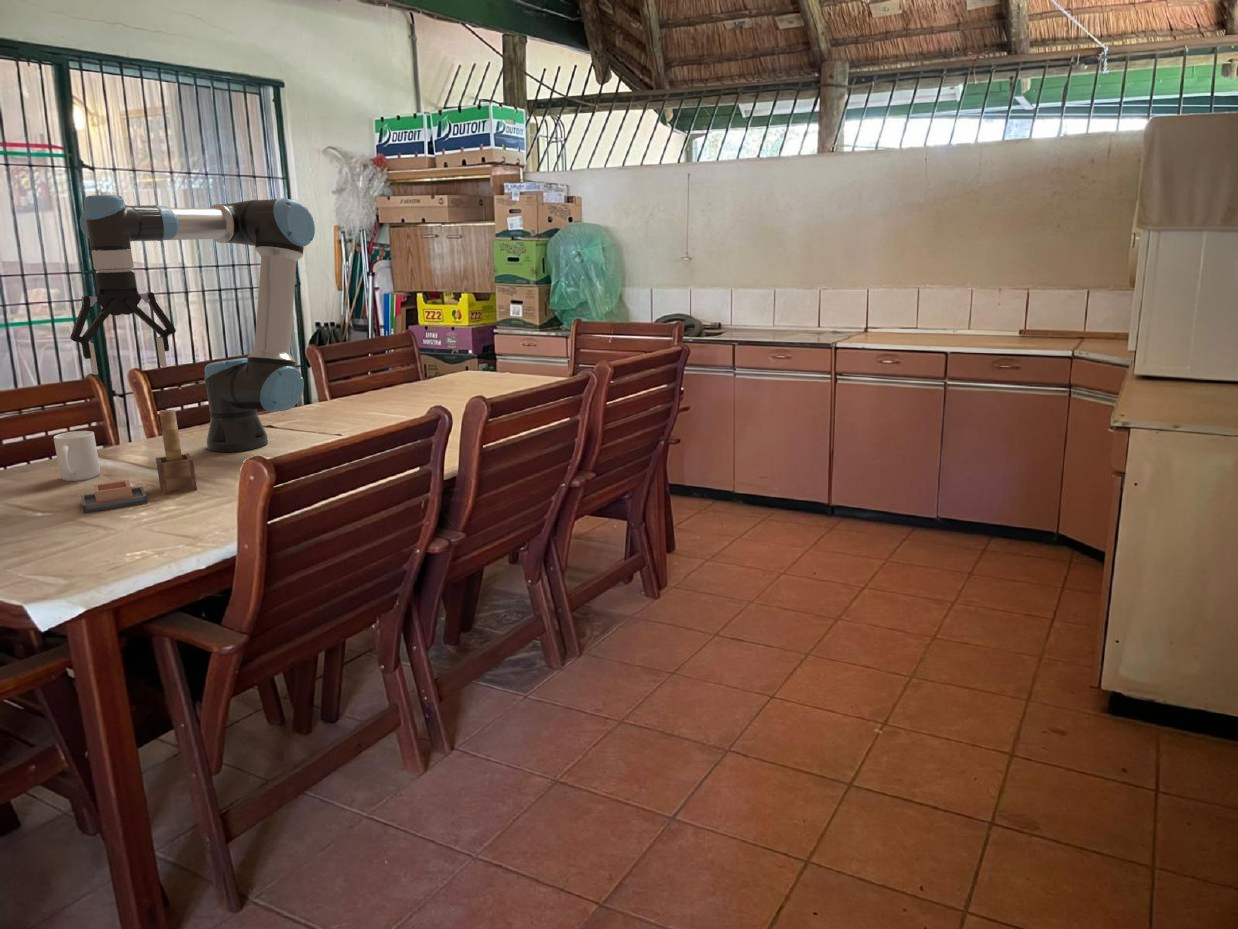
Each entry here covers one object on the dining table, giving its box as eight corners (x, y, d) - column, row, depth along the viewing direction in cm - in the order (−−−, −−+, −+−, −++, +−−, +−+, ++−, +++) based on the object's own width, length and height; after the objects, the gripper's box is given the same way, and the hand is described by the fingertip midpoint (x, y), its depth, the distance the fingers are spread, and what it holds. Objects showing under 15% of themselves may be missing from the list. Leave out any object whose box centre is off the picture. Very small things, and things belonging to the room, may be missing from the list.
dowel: (184, 482, 209) (174, 409, 205) (186, 485, 207) (175, 411, 202) (169, 484, 208) (158, 410, 203) (171, 488, 205) (159, 413, 201)
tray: (143, 493, 204) (142, 486, 204) (147, 503, 197) (146, 496, 197) (81, 502, 198) (80, 495, 198) (83, 513, 191) (82, 505, 191)
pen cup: (192, 482, 212) (188, 453, 210) (197, 489, 206) (192, 459, 205) (160, 487, 209) (155, 457, 207) (163, 494, 203) (159, 464, 201)
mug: (85, 484, 213) (77, 441, 210) (47, 486, 212) (39, 443, 209) (106, 471, 224) (99, 430, 221) (70, 473, 223) (62, 431, 220)
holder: (130, 493, 202) (128, 479, 201) (133, 500, 196) (131, 486, 196) (95, 498, 199) (93, 484, 198) (97, 506, 193) (94, 492, 192)
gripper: (172, 267, 206) (186, 362, 212) (44, 273, 191) (61, 374, 197) (181, 268, 201) (195, 365, 206) (49, 274, 186) (68, 378, 191)
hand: (130, 370), depth 201 cm, fingers open, 13 cm apart
